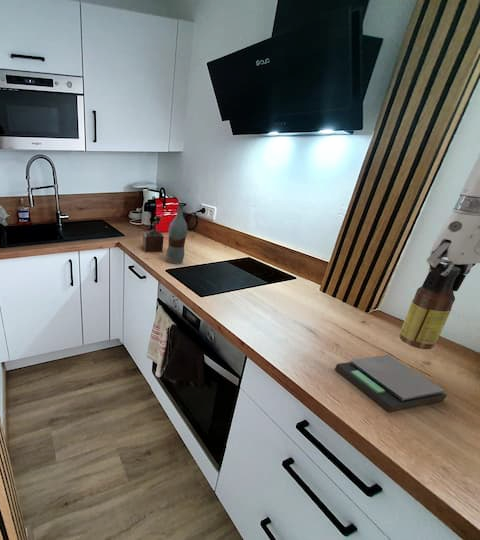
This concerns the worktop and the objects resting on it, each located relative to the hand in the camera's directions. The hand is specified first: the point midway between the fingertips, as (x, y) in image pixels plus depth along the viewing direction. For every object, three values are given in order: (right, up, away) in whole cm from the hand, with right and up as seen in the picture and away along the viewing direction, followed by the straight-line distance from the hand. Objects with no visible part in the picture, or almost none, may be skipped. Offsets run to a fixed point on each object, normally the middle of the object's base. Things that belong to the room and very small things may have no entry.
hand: (439, 288), depth 63 cm
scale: (-2, -26, +10) cm, 28 cm away
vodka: (-42, +9, +87) cm, 97 cm away
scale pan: (-1, -23, +10) cm, 25 cm away
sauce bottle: (0, -14, +6) cm, 15 cm away
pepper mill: (-52, +17, +107) cm, 120 cm away
